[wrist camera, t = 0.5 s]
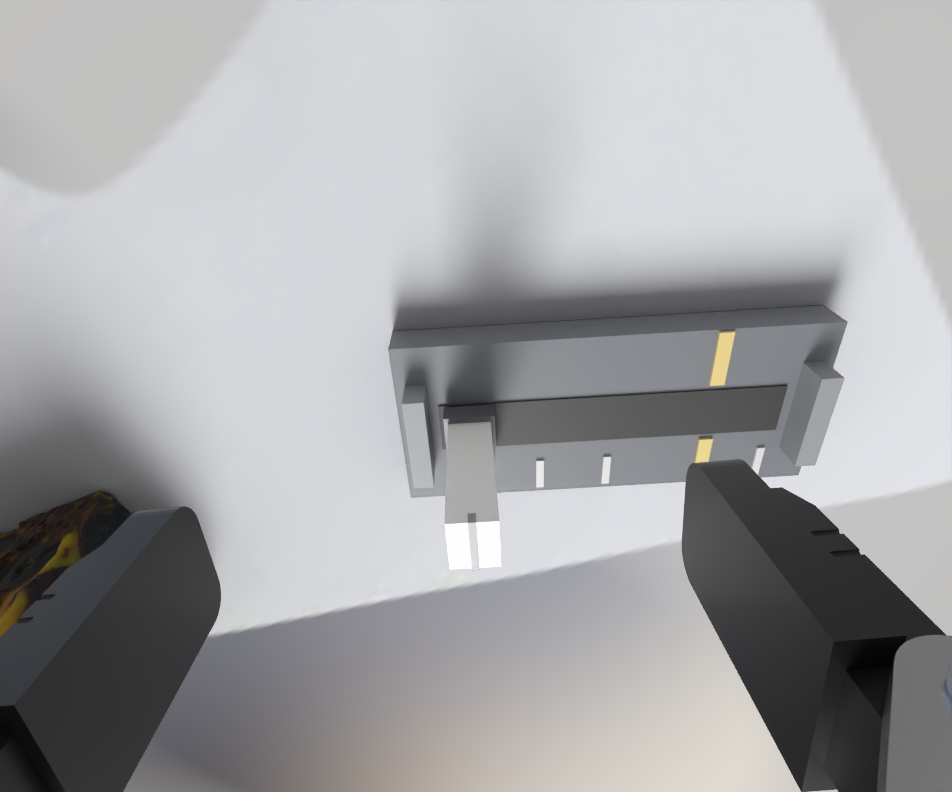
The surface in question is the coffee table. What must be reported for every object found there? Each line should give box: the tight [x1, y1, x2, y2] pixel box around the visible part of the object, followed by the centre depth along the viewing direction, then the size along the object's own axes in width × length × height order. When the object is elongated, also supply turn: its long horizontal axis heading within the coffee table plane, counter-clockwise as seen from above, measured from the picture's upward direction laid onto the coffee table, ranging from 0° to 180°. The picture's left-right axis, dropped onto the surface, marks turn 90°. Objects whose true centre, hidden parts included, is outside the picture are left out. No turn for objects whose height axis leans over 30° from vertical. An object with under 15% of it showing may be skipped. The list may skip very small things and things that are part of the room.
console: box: [388, 305, 847, 498], centre depth 28 cm, size 9×21×4 cm, turn 93°
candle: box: [0, 491, 131, 637], centre depth 31 cm, size 10×10×10 cm
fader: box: [443, 404, 501, 570], centre depth 24 cm, size 3×2×8 cm
